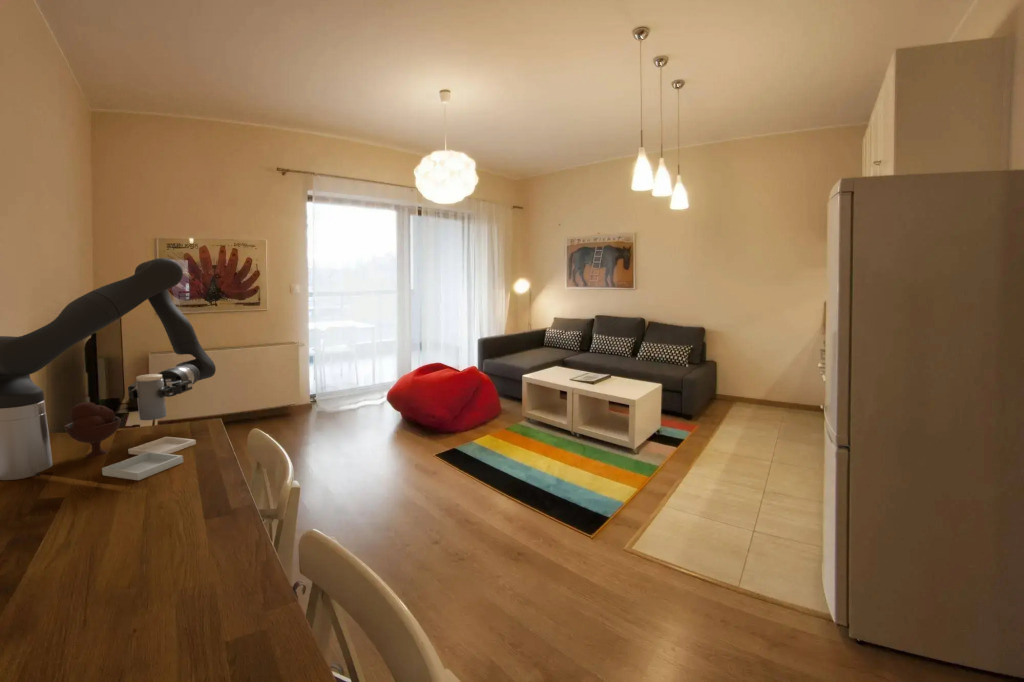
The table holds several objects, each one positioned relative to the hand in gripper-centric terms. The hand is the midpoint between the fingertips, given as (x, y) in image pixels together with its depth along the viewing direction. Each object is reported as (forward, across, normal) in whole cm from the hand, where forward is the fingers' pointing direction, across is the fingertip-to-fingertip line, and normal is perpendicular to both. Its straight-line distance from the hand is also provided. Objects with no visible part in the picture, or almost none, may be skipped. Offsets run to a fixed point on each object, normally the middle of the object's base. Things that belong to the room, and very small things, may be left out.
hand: (146, 394), depth 115 cm
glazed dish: (+7, +1, +18) cm, 19 cm away
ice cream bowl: (-8, -15, +18) cm, 25 cm away
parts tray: (-7, 0, +18) cm, 19 cm away
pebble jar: (-3, 0, +7) cm, 7 cm away
